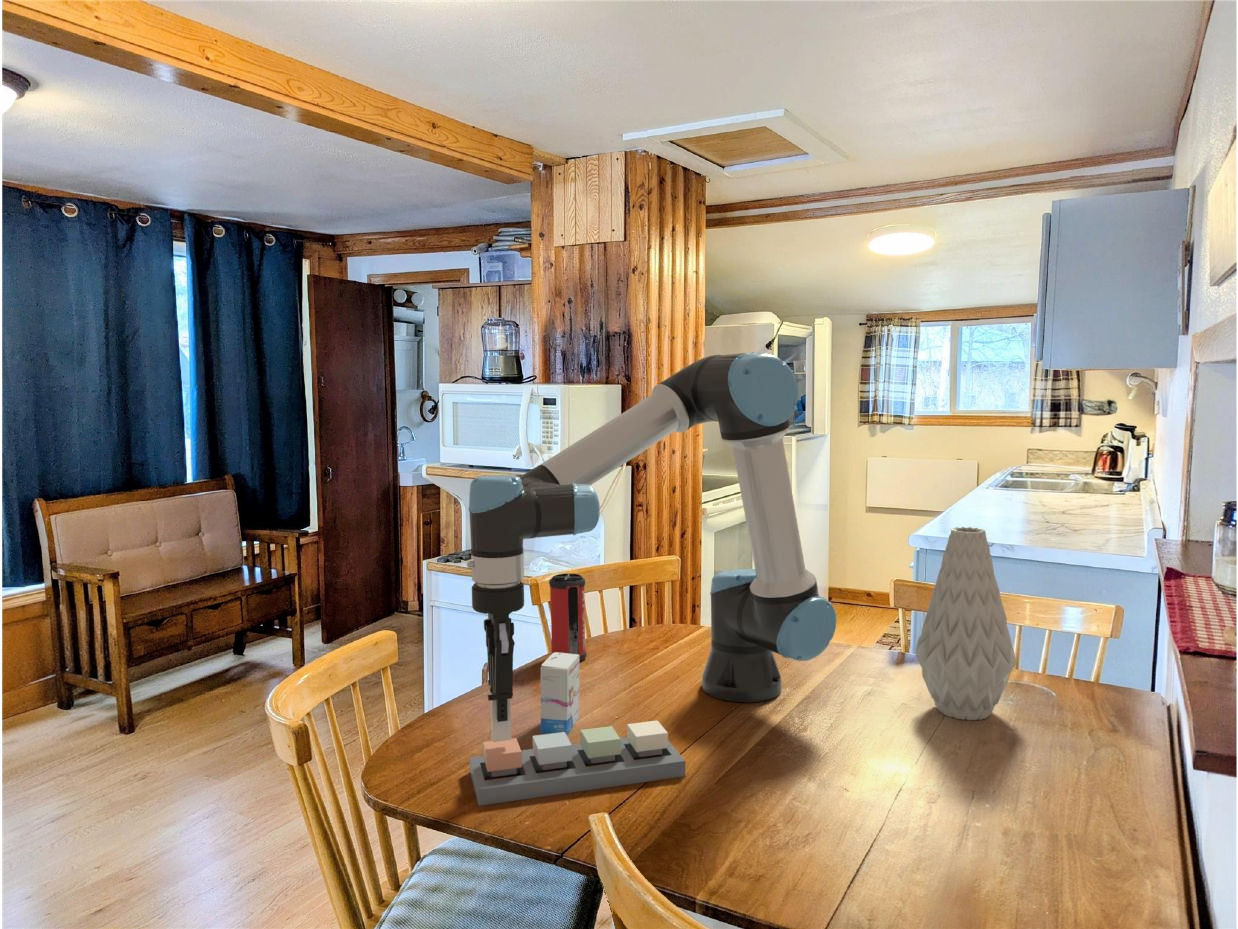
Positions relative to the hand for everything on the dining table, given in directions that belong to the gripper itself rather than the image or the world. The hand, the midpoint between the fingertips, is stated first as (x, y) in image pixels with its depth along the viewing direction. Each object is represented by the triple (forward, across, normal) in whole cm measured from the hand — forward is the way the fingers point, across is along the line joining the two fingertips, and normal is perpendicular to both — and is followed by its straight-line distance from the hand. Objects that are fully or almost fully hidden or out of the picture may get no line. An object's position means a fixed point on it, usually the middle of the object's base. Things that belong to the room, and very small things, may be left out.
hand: (501, 738), depth 127 cm
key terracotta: (+5, 0, 0) cm, 5 cm away
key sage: (+5, 0, +15) cm, 16 cm away
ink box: (+7, -19, +13) cm, 24 cm away
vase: (+7, -4, +83) cm, 83 cm away
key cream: (+5, 0, +23) cm, 23 cm away
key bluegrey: (+5, 0, +8) cm, 9 cm away
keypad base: (+7, 0, +11) cm, 13 cm away
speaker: (+7, -54, +22) cm, 59 cm away
